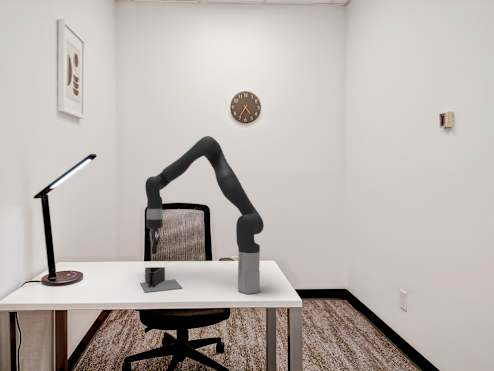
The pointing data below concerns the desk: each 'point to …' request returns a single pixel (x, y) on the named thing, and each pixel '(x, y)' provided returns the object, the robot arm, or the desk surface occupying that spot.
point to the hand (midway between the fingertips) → (154, 253)
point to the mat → (162, 286)
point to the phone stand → (154, 275)
